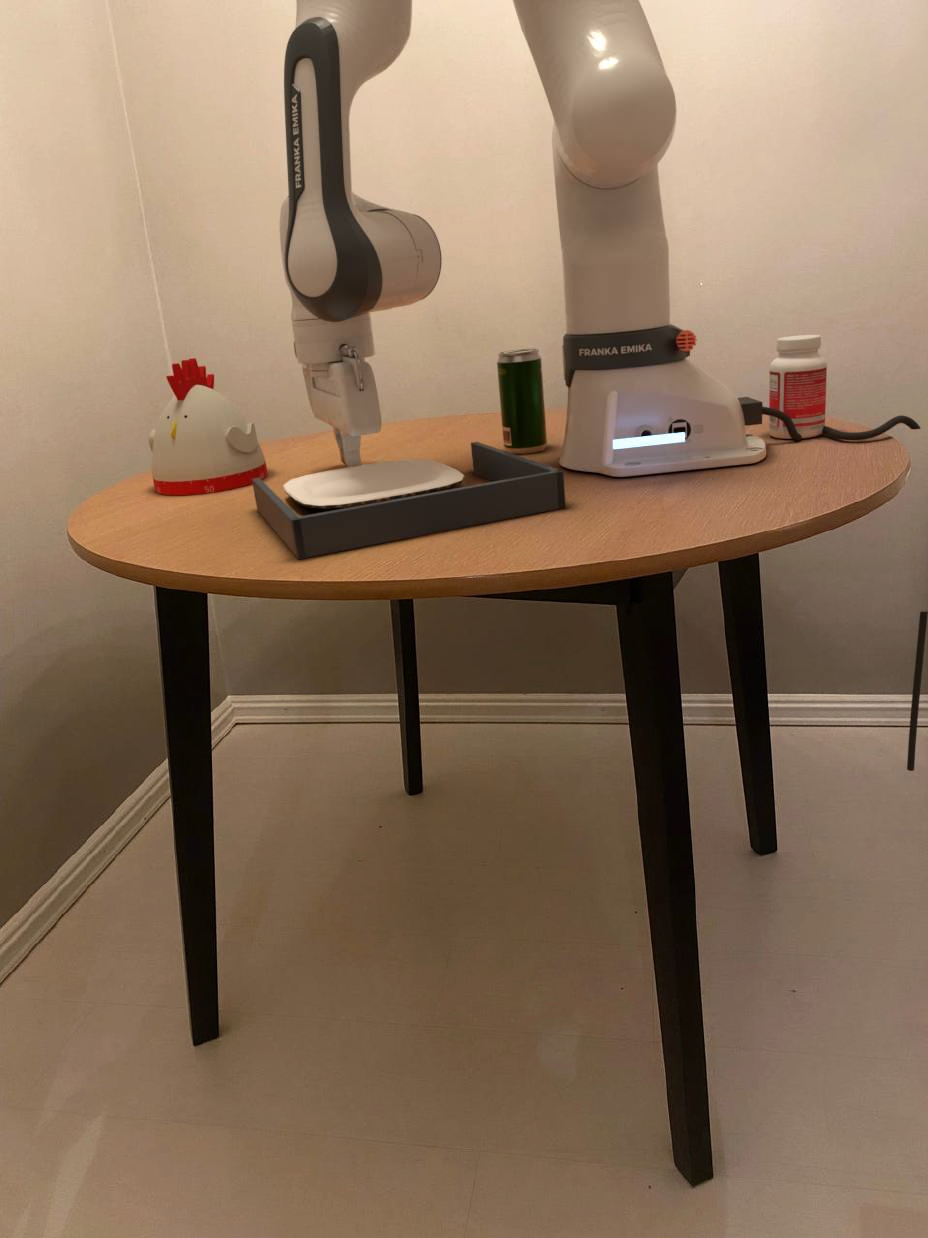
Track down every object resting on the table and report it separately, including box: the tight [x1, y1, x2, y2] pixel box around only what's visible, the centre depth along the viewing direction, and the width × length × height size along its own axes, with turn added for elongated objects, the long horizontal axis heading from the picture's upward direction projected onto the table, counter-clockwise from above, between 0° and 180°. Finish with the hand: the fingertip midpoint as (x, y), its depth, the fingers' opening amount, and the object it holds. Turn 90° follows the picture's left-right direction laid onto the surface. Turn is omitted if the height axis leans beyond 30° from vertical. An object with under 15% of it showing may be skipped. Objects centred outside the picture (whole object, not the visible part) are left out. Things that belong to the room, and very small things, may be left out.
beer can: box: [496, 348, 548, 455], centre depth 115 cm, size 5×5×12 cm
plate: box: [282, 458, 465, 511], centre depth 102 cm, size 18×18×2 cm
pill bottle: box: [768, 334, 828, 440], centre depth 108 cm, size 6×6×11 cm
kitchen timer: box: [148, 357, 269, 496], centre depth 115 cm, size 14×14×15 cm
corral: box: [252, 441, 567, 560], centre depth 93 cm, size 22×26×4 cm
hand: (351, 464), depth 111 cm, fingers closed
